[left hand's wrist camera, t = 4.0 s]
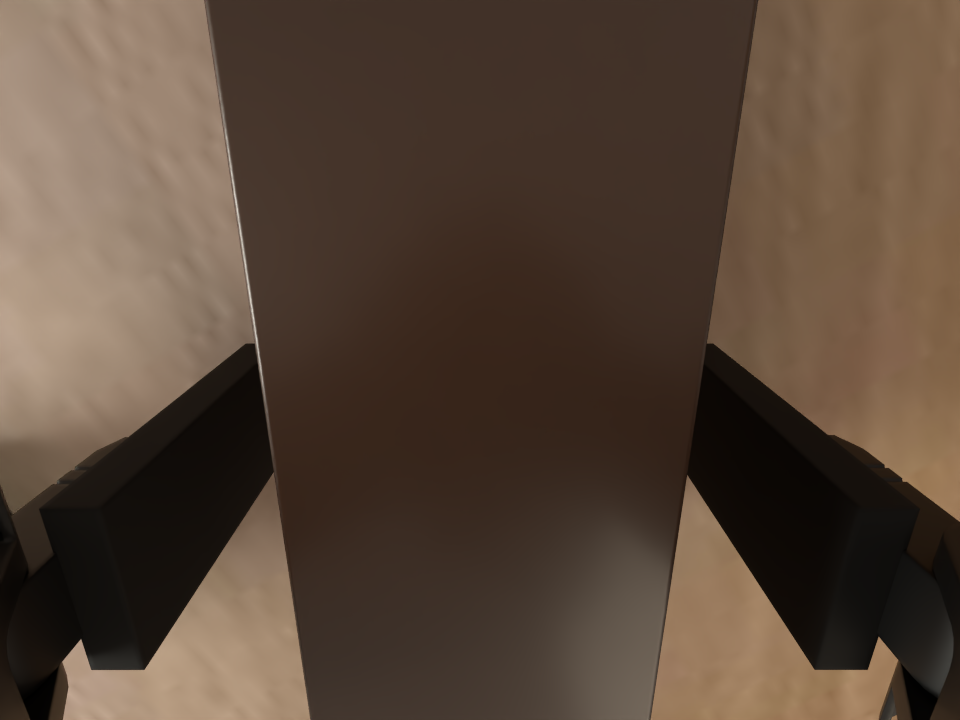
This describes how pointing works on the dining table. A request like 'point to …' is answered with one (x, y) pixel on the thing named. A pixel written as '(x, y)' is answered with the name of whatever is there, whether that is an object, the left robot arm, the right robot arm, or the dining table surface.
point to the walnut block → (480, 331)
